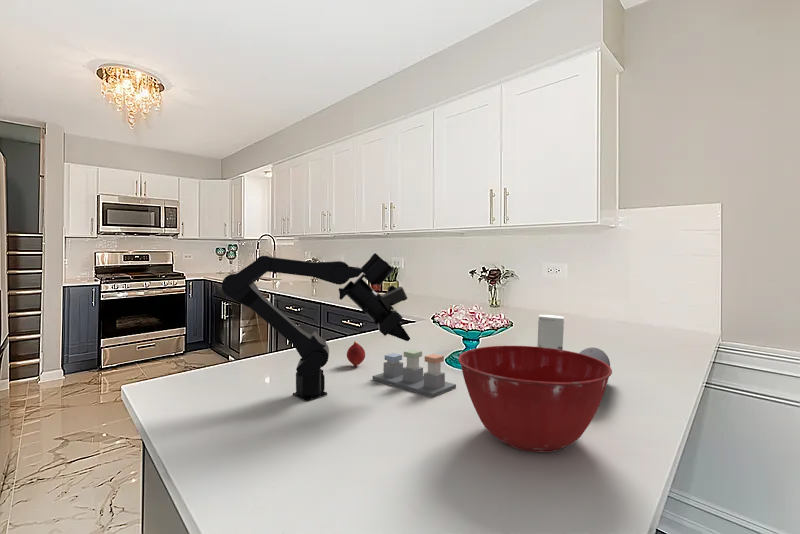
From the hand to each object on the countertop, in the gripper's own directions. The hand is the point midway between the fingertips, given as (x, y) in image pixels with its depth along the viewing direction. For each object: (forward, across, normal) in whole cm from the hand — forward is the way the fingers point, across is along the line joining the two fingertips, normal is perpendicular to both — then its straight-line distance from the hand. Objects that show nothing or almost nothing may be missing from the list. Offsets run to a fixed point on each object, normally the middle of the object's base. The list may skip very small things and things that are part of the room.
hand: (408, 339), depth 111 cm
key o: (+6, +11, +10) cm, 16 cm away
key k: (+11, 0, +2) cm, 11 cm away
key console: (+11, +6, +8) cm, 15 cm away
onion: (+1, +26, +19) cm, 32 cm away
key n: (+8, +5, +5) cm, 11 cm away
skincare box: (+47, +24, -27) cm, 59 cm away
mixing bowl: (+23, -31, -4) cm, 39 cm away
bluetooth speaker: (+42, -8, -23) cm, 49 cm away
